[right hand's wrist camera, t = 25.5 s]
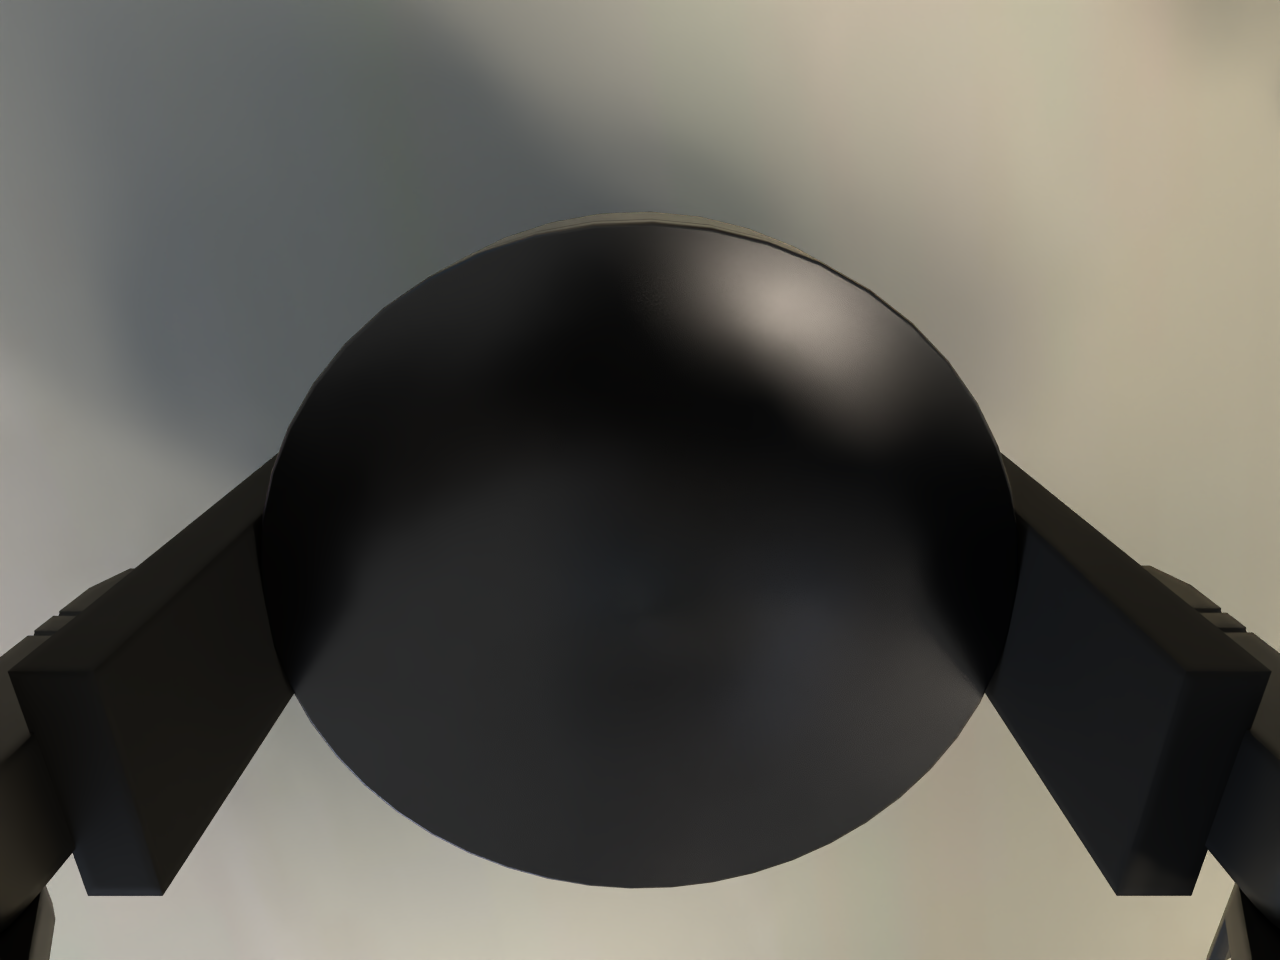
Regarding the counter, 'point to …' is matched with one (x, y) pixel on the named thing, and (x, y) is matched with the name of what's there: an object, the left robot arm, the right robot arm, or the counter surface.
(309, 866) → the counter surface
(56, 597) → the counter surface
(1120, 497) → the counter surface
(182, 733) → the right robot arm
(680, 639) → the lid
